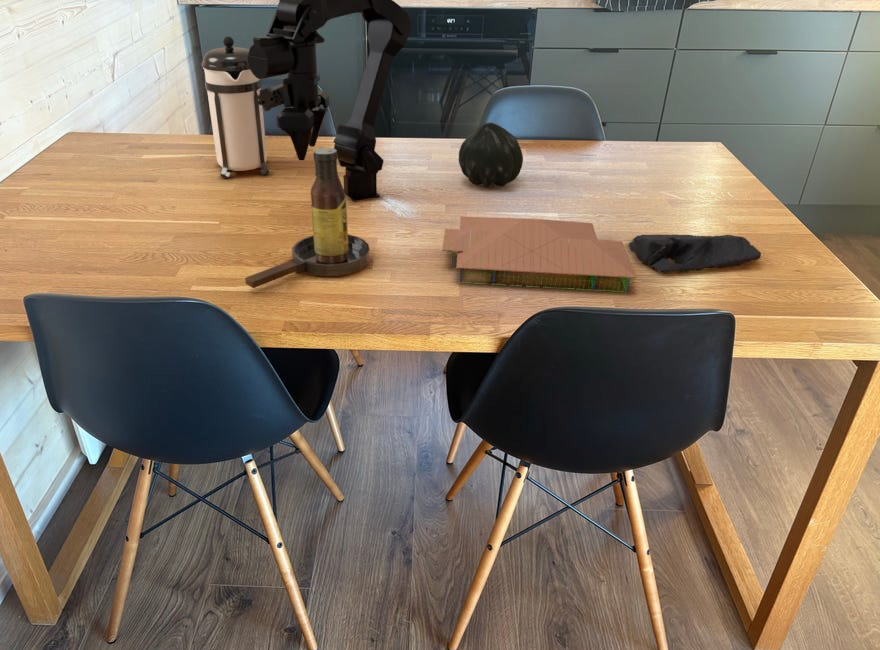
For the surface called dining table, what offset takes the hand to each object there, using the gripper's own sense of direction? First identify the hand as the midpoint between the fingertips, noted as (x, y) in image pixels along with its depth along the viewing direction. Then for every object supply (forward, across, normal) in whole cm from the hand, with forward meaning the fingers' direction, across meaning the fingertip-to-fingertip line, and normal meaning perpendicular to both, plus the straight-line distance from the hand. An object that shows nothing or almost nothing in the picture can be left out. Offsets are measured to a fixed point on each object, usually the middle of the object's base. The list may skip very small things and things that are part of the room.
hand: (307, 153), depth 141 cm
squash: (+13, -26, +37) cm, 47 cm away
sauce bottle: (+13, +21, +9) cm, 26 cm away
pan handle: (+12, +31, +1) cm, 34 cm away
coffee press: (+13, -26, -24) cm, 38 cm away
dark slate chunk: (+13, +10, +76) cm, 78 cm away
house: (+13, +16, +46) cm, 50 cm away
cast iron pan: (+13, +22, +9) cm, 27 cm away
